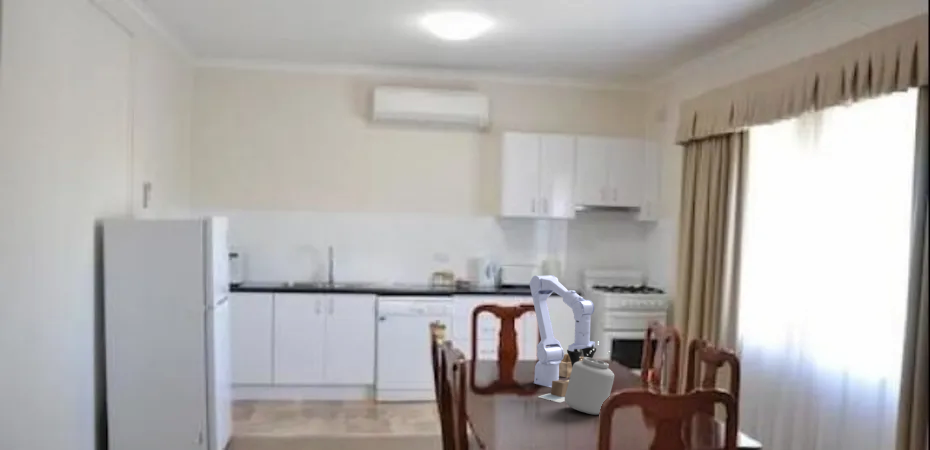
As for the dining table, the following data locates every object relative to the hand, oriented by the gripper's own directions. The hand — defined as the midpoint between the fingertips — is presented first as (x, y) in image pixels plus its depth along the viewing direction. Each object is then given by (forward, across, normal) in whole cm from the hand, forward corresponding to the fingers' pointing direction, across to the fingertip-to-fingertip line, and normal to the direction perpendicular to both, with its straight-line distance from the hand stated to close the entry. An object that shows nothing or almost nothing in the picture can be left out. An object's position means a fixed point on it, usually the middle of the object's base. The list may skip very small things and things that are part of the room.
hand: (581, 367), depth 284 cm
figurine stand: (+10, +26, +26) cm, 38 cm away
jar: (+11, -16, -17) cm, 26 cm away
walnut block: (+8, -9, +4) cm, 13 cm away
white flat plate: (+10, -12, +3) cm, 16 cm away
